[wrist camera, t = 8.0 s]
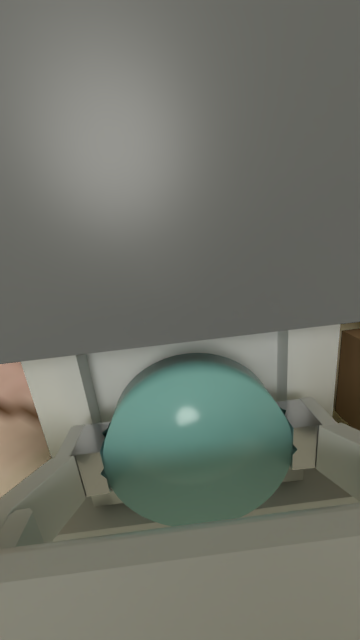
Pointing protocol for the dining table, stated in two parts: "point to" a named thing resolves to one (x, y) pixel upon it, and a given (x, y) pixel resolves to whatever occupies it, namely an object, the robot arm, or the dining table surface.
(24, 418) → the dining table surface
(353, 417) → the brown wooden cube
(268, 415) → the teal flat dome
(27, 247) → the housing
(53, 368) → the light grey drawer
